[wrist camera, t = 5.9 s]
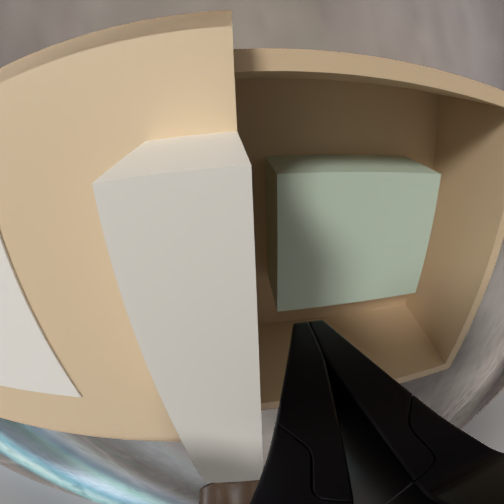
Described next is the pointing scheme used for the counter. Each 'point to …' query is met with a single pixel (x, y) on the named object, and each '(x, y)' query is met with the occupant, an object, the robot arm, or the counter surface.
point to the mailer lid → (131, 243)
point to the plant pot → (228, 492)
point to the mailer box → (369, 204)
